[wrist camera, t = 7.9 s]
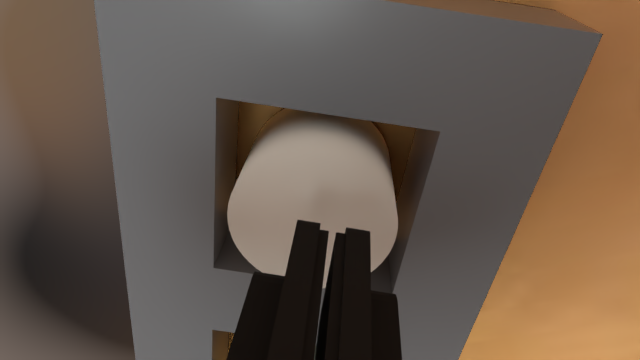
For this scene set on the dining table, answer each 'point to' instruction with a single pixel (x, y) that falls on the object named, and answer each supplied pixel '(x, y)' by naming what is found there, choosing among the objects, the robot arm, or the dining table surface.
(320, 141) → the ivory button
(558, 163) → the dining table surface
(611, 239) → the dining table surface
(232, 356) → the robot arm
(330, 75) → the console
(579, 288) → the dining table surface
